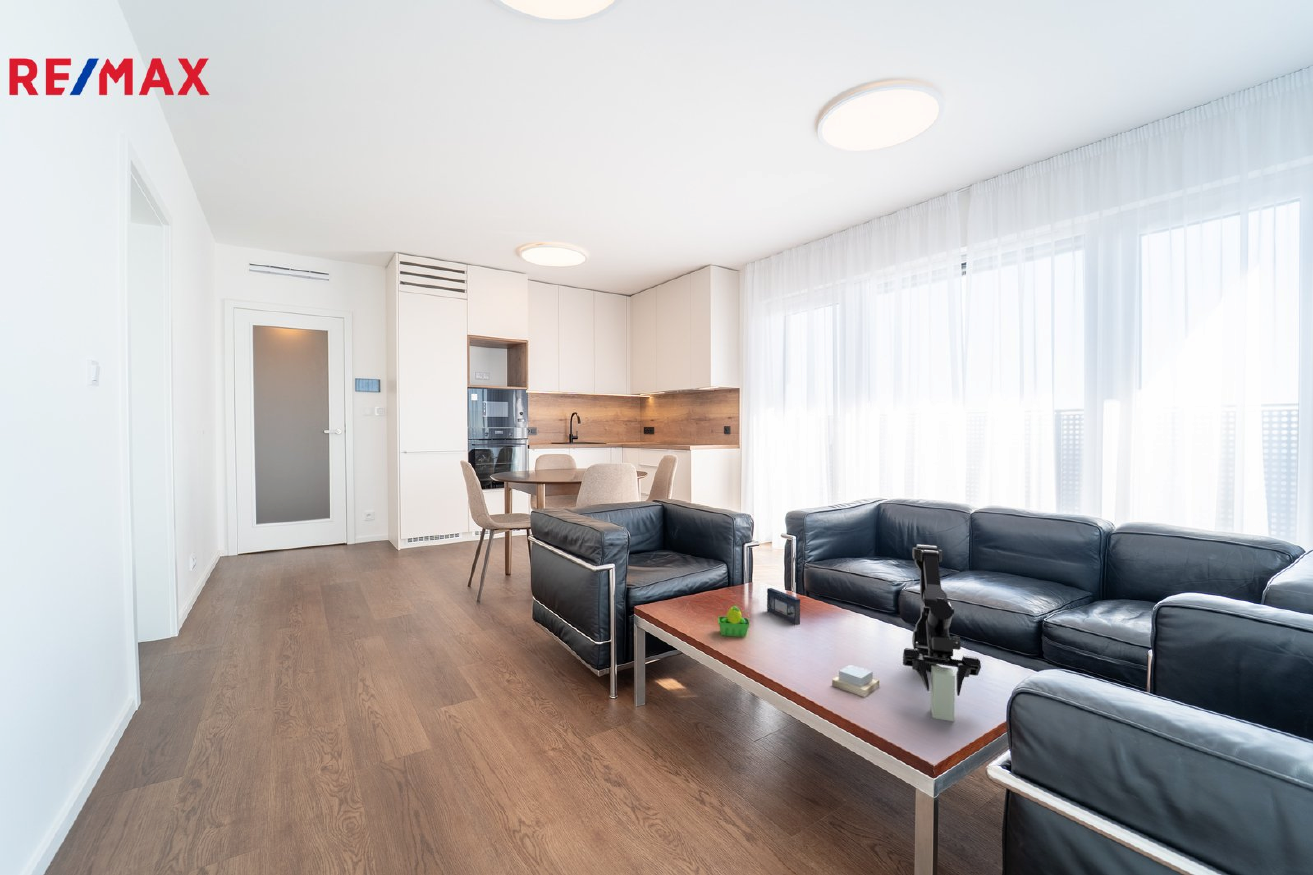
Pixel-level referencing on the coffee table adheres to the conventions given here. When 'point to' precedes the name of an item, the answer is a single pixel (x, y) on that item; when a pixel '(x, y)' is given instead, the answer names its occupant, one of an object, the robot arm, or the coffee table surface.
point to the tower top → (855, 675)
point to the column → (942, 693)
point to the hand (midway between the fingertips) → (943, 692)
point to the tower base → (854, 688)
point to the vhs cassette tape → (783, 606)
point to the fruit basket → (733, 623)
